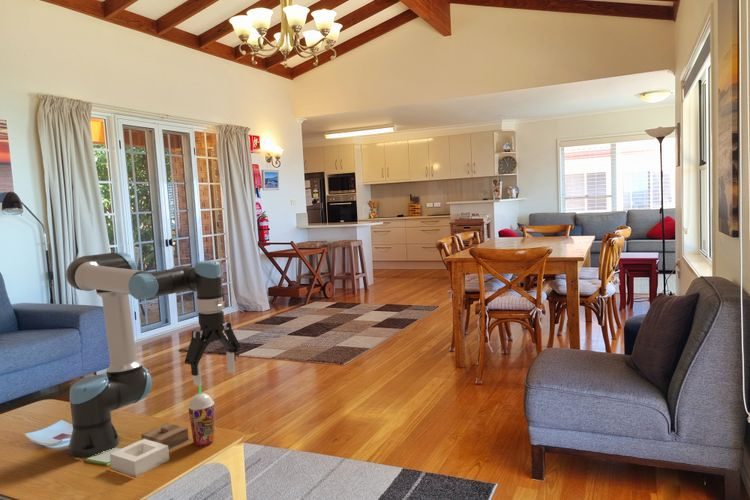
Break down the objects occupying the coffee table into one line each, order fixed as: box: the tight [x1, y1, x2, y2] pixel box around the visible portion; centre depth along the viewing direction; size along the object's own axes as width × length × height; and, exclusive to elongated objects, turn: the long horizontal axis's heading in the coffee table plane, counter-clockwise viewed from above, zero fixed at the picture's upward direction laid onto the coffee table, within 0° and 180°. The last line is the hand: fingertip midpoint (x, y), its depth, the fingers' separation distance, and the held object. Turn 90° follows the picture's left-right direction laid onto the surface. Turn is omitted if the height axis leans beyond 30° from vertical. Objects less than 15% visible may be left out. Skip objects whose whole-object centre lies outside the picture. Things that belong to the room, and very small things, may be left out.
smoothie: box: [187, 386, 215, 447], centre depth 187 cm, size 8×8×20 cm
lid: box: [140, 422, 190, 449], centre depth 189 cm, size 10×10×5 cm
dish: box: [109, 438, 170, 479], centre depth 174 cm, size 12×12×5 cm
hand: (215, 378), depth 173 cm, fingers open, 13 cm apart
